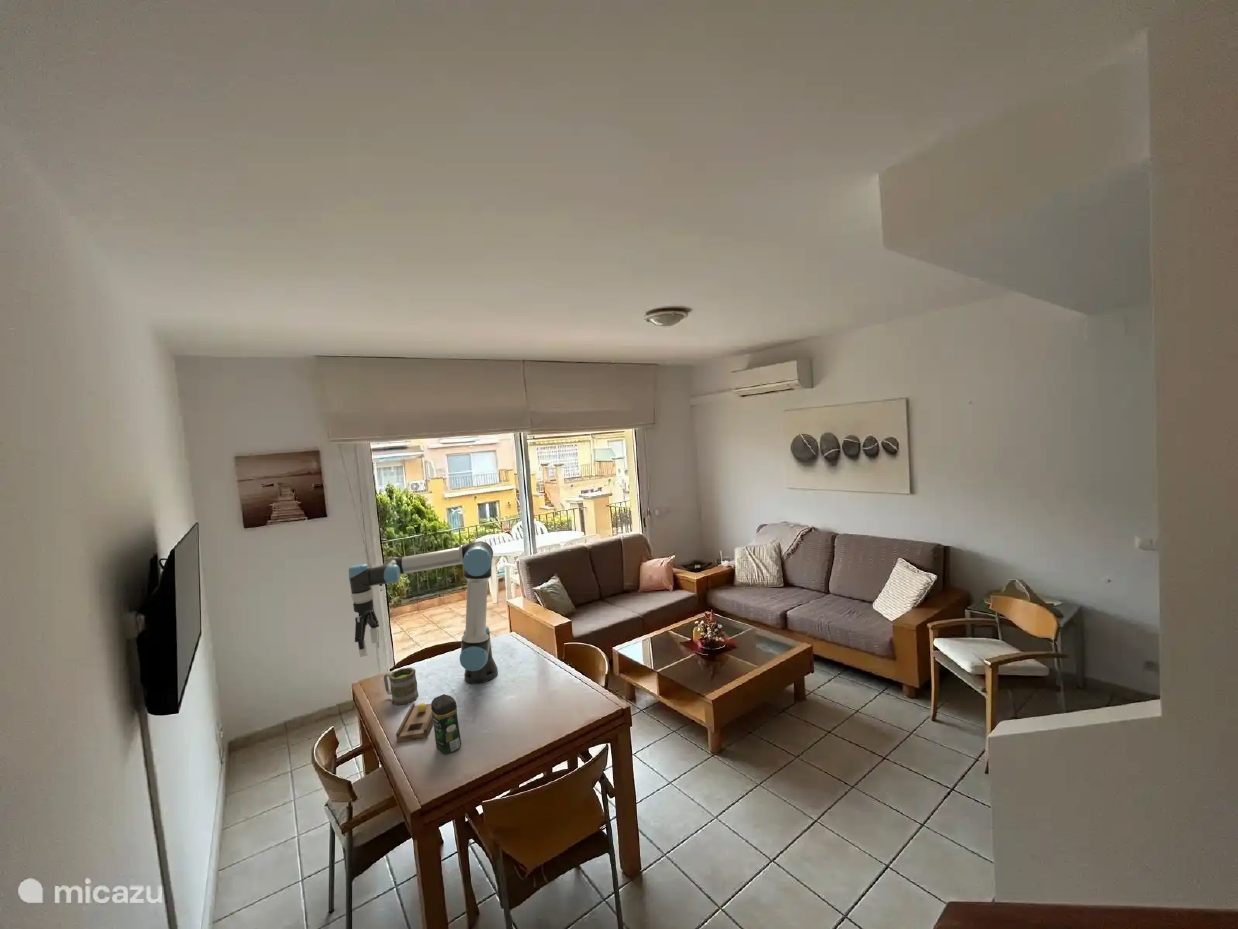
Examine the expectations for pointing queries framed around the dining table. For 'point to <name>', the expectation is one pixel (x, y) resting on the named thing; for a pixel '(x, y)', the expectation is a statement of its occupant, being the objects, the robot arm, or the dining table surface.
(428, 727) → the lane board
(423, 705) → the ball
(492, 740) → the dining table surface
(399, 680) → the mug
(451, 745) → the coffee jar
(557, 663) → the dining table surface
